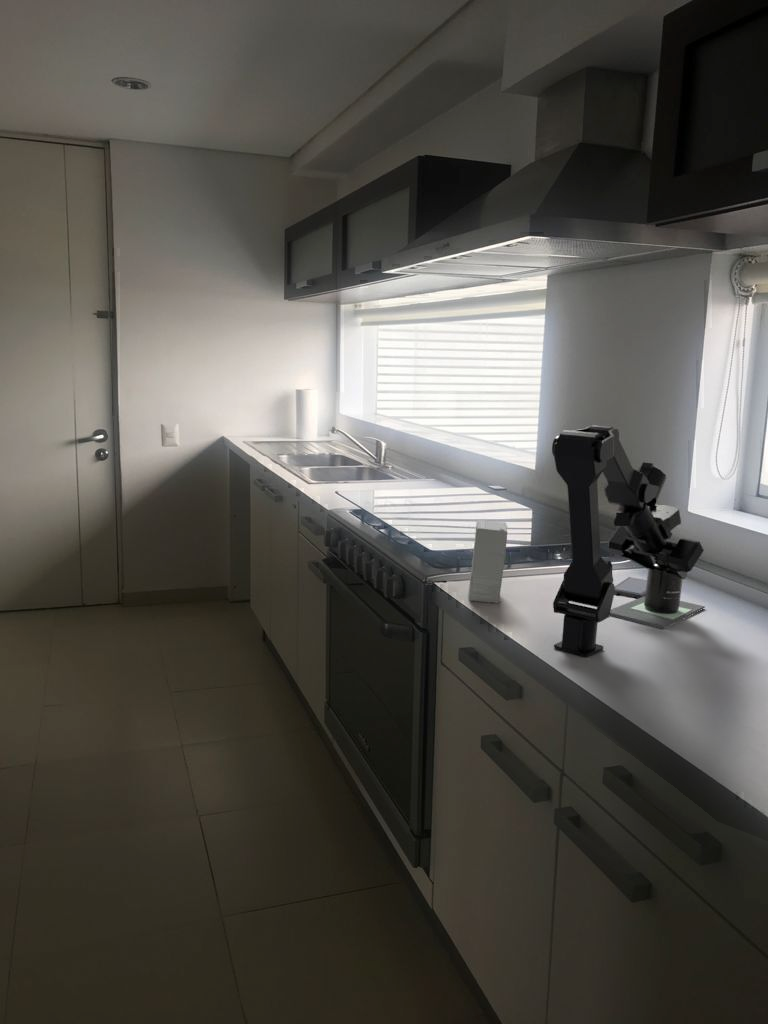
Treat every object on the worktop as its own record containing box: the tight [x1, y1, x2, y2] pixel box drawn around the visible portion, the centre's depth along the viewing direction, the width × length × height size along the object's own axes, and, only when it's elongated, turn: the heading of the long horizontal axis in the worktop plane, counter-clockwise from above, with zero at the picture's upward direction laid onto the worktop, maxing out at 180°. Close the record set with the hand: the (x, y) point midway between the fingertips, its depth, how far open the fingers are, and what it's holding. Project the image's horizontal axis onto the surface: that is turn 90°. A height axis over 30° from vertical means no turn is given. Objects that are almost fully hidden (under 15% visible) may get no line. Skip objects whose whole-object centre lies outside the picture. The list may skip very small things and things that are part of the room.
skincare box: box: [468, 519, 508, 604], centre depth 179 cm, size 8×7×16 cm
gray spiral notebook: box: [609, 596, 706, 630], centre depth 175 cm, size 20×12×1 cm, turn 138°
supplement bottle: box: [644, 553, 684, 614], centre depth 173 cm, size 7×7×12 cm
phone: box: [614, 576, 647, 599], centre depth 192 cm, size 14×7×1 cm, turn 148°
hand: (668, 573), depth 174 cm, fingers open, 7 cm apart
